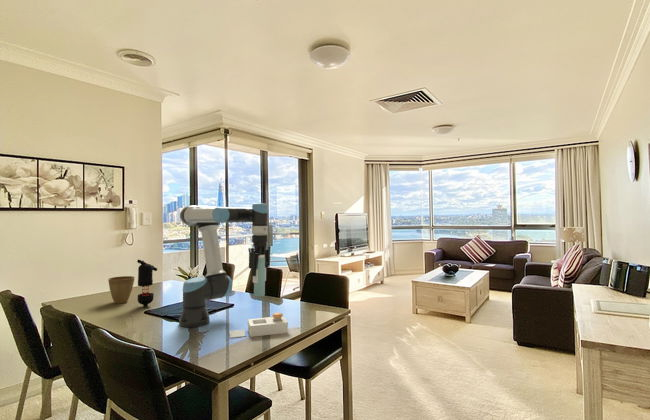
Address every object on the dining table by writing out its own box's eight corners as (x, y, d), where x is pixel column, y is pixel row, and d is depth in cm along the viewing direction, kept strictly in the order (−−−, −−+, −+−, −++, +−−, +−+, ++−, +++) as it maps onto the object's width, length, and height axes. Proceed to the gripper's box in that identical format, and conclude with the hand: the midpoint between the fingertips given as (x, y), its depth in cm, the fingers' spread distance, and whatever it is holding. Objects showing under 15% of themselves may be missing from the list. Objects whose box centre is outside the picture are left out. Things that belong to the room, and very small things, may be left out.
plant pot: (125, 305, 211) (125, 280, 212) (102, 305, 212) (102, 279, 212) (139, 299, 226) (139, 275, 227) (117, 299, 226) (117, 275, 227)
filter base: (250, 336, 156) (250, 326, 157) (247, 329, 167) (247, 319, 167) (287, 332, 162) (287, 322, 162) (283, 325, 173) (283, 315, 173)
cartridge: (251, 295, 163) (252, 255, 163) (259, 293, 167) (259, 254, 168) (259, 297, 160) (260, 255, 160) (266, 295, 164) (267, 254, 165)
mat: (230, 338, 154) (230, 337, 154) (229, 331, 163) (229, 331, 163) (245, 336, 157) (245, 335, 157) (244, 330, 165) (244, 329, 165)
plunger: (273, 324, 163) (273, 316, 163) (271, 321, 168) (271, 313, 168) (283, 323, 165) (283, 315, 165) (281, 320, 169) (281, 312, 169)
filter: (142, 309, 201) (142, 260, 202) (132, 307, 205) (133, 259, 206) (161, 304, 214) (162, 257, 214) (152, 302, 218) (152, 256, 218)
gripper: (252, 235, 154) (252, 285, 154) (277, 233, 170) (277, 279, 170) (240, 235, 158) (240, 284, 158) (266, 233, 174) (266, 277, 173)
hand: (259, 281), depth 164 cm, fingers closed on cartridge, 5 cm apart
